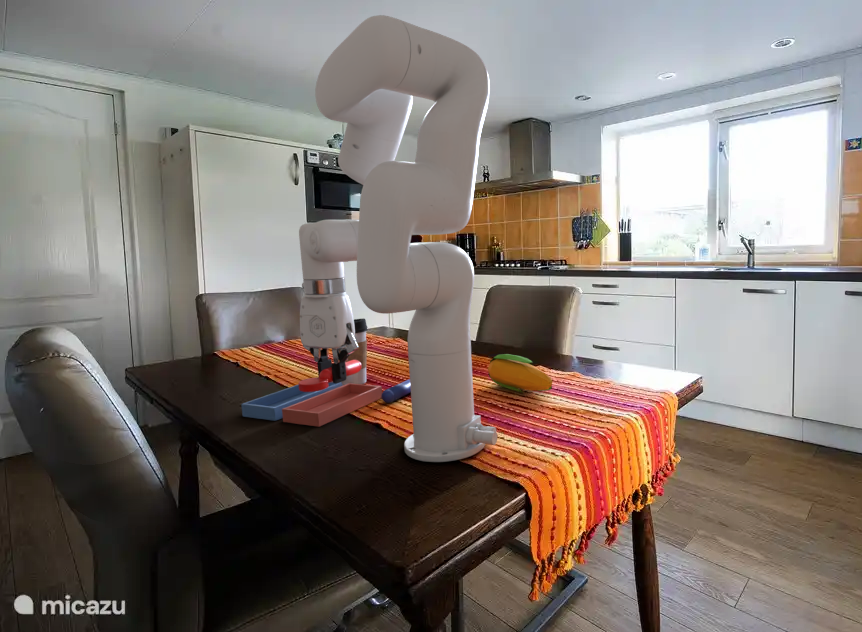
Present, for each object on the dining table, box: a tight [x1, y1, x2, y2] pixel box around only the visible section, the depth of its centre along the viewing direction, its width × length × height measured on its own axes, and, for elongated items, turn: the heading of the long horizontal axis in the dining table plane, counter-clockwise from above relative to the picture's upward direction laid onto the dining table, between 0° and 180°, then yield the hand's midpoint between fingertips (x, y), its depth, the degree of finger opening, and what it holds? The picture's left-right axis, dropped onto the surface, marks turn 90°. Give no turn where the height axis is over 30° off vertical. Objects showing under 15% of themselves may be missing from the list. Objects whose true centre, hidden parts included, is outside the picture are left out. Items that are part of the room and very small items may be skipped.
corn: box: [487, 353, 553, 394], centre depth 108 cm, size 7×8×20 cm
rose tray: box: [282, 383, 383, 427], centre depth 101 cm, size 9×18×2 cm, turn 157°
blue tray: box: [240, 382, 342, 422], centre depth 105 cm, size 9×18×2 cm, turn 157°
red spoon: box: [297, 360, 361, 392], centre depth 100 cm, size 16×5×3 cm, turn 157°
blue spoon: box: [381, 378, 411, 404], centre depth 109 cm, size 16×5×3 cm, turn 157°
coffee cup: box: [339, 318, 369, 386], centre depth 119 cm, size 8×8×15 cm
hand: (332, 380), depth 100 cm, fingers closed on red spoon, 2 cm apart
